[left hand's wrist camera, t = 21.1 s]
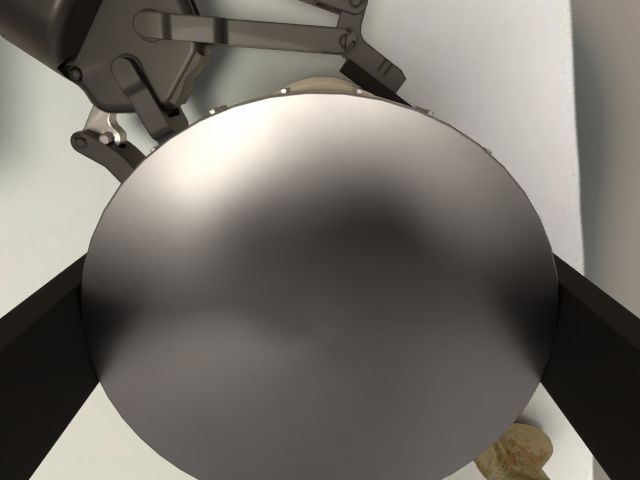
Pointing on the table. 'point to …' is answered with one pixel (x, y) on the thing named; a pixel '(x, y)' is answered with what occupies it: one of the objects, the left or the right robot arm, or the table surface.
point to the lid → (319, 293)
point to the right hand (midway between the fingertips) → (377, 207)
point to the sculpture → (516, 455)
